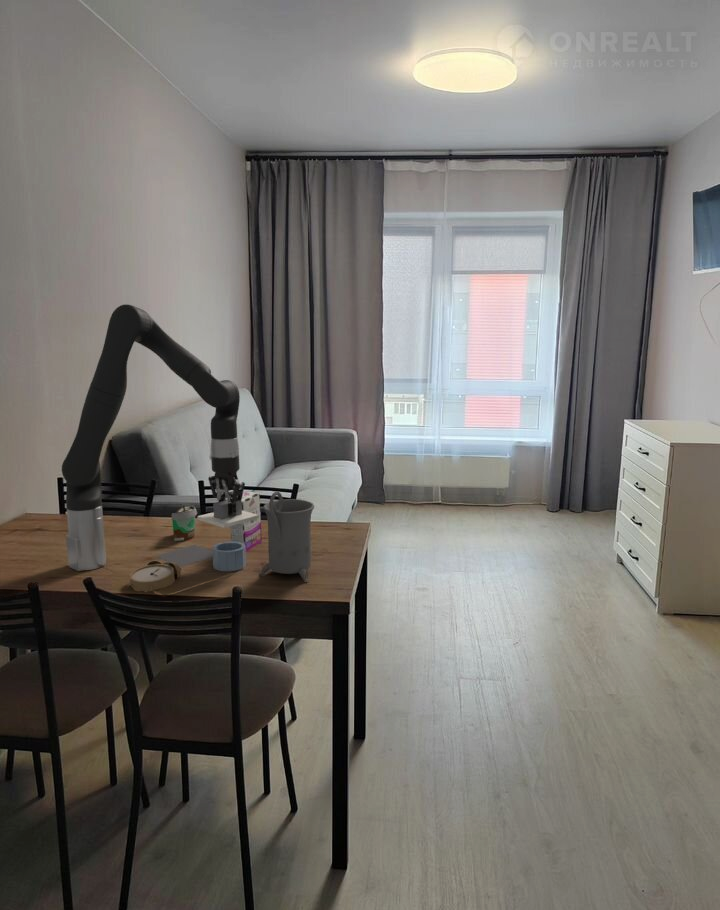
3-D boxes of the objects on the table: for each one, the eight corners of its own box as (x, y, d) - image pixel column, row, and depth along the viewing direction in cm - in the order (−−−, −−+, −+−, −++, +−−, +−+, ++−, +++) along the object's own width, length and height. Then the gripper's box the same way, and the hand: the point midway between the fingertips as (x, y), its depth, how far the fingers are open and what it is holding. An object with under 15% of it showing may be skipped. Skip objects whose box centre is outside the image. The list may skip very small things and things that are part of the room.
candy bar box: (248, 541, 214) (246, 490, 211) (262, 542, 213) (260, 492, 210) (230, 552, 204) (228, 499, 201) (245, 554, 202) (243, 500, 199)
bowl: (226, 575, 185) (225, 554, 184) (207, 567, 191) (206, 547, 190) (252, 566, 192) (251, 546, 191) (232, 559, 198) (232, 539, 197)
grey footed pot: (280, 560, 197) (278, 476, 192) (327, 567, 191) (326, 481, 187) (247, 583, 179) (244, 491, 175) (297, 591, 174) (295, 497, 169)
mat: (181, 568, 190) (181, 567, 190) (154, 557, 199) (154, 555, 199) (222, 556, 200) (221, 554, 200) (194, 546, 210) (194, 544, 209)
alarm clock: (119, 579, 175) (153, 552, 188) (123, 596, 176) (156, 567, 190) (156, 585, 171) (188, 556, 184) (160, 601, 173) (191, 572, 186)
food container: (192, 544, 211) (191, 513, 209) (172, 544, 211) (171, 513, 209) (202, 532, 223) (201, 503, 221) (183, 532, 223) (182, 503, 221)
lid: (223, 528, 181) (222, 510, 180) (197, 519, 189) (196, 502, 188) (258, 518, 189) (258, 501, 189) (232, 510, 197) (231, 494, 196)
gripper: (198, 452, 187) (201, 512, 191) (229, 459, 178) (232, 522, 181) (220, 448, 193) (223, 507, 196) (252, 455, 183) (254, 516, 187)
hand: (227, 514), depth 189 cm, fingers closed on lid, 3 cm apart
